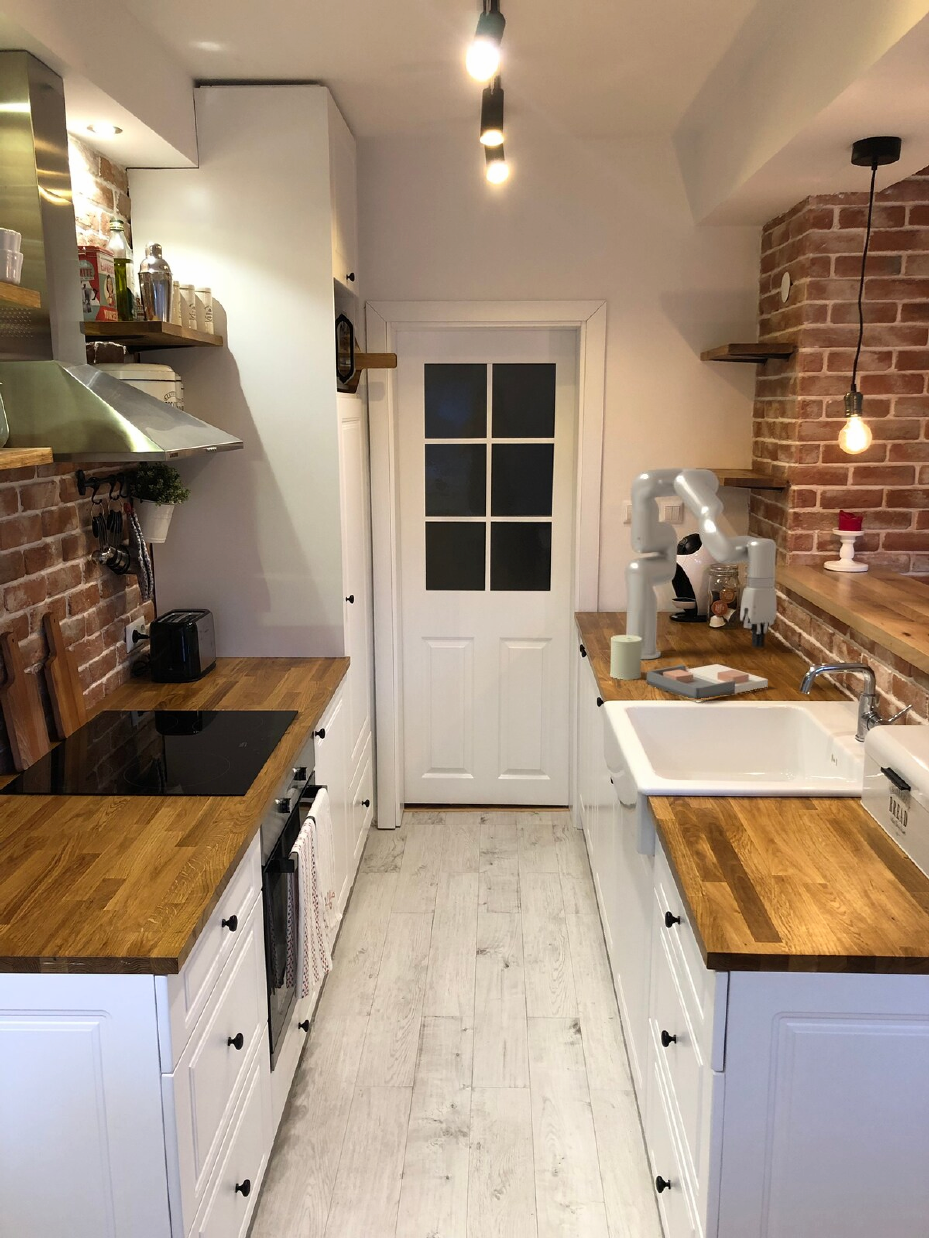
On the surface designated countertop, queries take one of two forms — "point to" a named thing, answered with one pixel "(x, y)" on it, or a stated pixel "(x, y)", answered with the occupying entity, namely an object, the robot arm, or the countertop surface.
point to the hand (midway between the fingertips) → (758, 646)
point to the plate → (711, 675)
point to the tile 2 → (733, 676)
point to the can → (626, 657)
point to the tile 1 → (679, 675)
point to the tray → (688, 685)
